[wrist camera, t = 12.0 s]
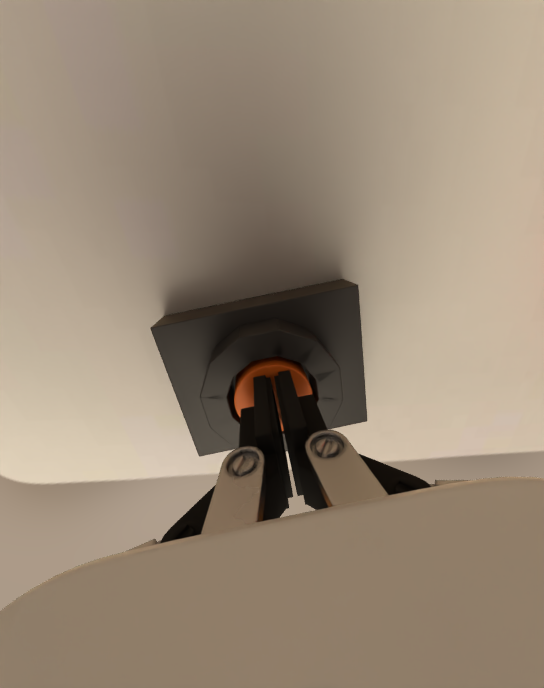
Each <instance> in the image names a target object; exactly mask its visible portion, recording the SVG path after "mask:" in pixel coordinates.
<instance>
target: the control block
mask: <svg viewBox="0 0 544 688" xmlns="http://www.w3.org/2000/svg"><path fill="white" fill-rule="evenodd" d="M151 331H152V334H153V336H154V339H155V342H156V344H157V347H158V350H159V352H160V355H161V357H162V360H163V363H164V365H165V368H166V371H167V373H168V376H169V378H170V381H171V384H172V386H173V389H174V392H175V394H176V397H177V399H178V402H179V405H180V407H181V410H182V413H183V415H184V418H185V420H186V423H187V426H188V428H189V431H190V434H191V436H192V439H193V441H194V444H195V447H196V449H197V452H198V455H199V456H204V455H209V454H213V453H218V452H223V451H228V450H232V449H237V448H239V432H240V417H239V415H238V414H237V411H236V409H235V405H234V395H235V384H236V376H237V374H238V373H239V372H240V371H241V370H243V369H244V368H245V367H246V366H247V365H249V364H250V363H251V362H252V361H256V360H261V359H266V358H271V357H276V356H279V357H282V358H286V359H289V360H293V361H296V362H299V363H300V364H301V366H302V367H303V369H304V372H305V374H306V376H307V379H308V381H309V383H310V386H311V389H312V394H313V396H314V398H315V400H316V403H317V405H318V407H319V410H320V412H321V415H322V417H323V420H324V422H325V424H326V427H327V429H332V428H337V427H342V426H346V425H351V424H356V423H361V422H365V421H367V409H366V394H365V379H364V365H363V350H362V335H361V320H360V305H359V290H358V285H356V284H354V283H351V282H349V281H346V280H344V279H340V280H336V281H331V282H326V283H321V284H316V285H311V286H307V287H302V288H297V289H292V290H287V291H282V292H277V293H273V294H268V295H263V296H258V297H253V298H248V299H244V300H239V301H234V302H229V303H224V304H219V305H214V306H210V307H205V308H200V309H195V310H190V311H185V312H181V313H176V314H171V315H166V316H164V317H162V318H161V319H160V320H159V321H158V322H157V323H156V324H155V325H153V326H152V327H151ZM282 434H283V440H284V446H285V451H288V449H287V444H286V439H285V435H284V431H282Z"/></svg>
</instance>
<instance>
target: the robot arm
mask: <svg viewBox="0 0 544 688" xmlns="http://www.w3.org/2000/svg"><path fill="white" fill-rule="evenodd" d="M274 379H275V385H276V390H277V396H278V402H279V407H280V413H281V419H282V424H283V430H284V435H285V439H286V444H287V449H288V453H289V458H290V463H291V467H292V472H293V477H294V481H295V486H296V490H297V494H298V496H300V495H304V500H305V504H307V505H309V506H311V507H312V508H314V509H316V510H315V511H310V512H305V513H300V514H296V515H290V516H286V517H281V518H280V516H281V515H282V513H283V512H284V511H285V509H287V508H289V504H288V498H290V497H293V494H292V488H291V481H290V476H289V470H288V464H287V458H286V452H285V446H284V440H283V434H282V429H281V424H280V419H279V414H278V410H277V405H276V401H275V396H274V392H273V387H272V382H271V378H270V377H268V378H266V376H265V375H262V376H258V377H253V384H254V406H252V407H247V408H242V409H241V414H240V432H239V448H237V449H235V450H233V451H232V452H231V453H229V454H228V455H227V457H226V458H225V459H224V461H223V463H222V466H221V469H220V473H219V476H218V479H217V483H216V485H215V486H214V487H213V488H212V489H211V490H210V491H209V492H208V493H207V494H206V495H205V496H203V497H202V498H201V499H200V500H199V501H198V502H197V503H196V504H195V505H194V506H193V507H192V508H191V509H190V510H189V511H188V512H187V513H186V514H185V515H184V516H183V517H182V518H181V519H180V520H178V521H177V522H176V523H175V524H174V525H173V526H172V527H171V528H170V529H169V530H168V532H167V533H166V534H165V535H164V537H163V538H162V540H161V541H158V542H157V541H156V539H153V540H151V541H148V542H146V543H144V544H141V545H139V546H137V547H134V548H132V549H130V550H128V551H125V552H122V553H118V554H114V555H111V556H107V557H103V558H99V559H97V560H94V561H91V562H88V563H85V564H82V565H79V566H77V567H74V568H72V569H70V570H68V571H65V572H63V573H61V574H59V575H56V576H54V577H52V578H51V579H48V580H47V581H45V582H43V583H42V584H40V585H38V586H36V587H34V588H32V589H31V590H29V591H28V592H26V593H25V594H23V595H22V596H20V597H18V598H17V599H16V600H14V601H13V602H12V603H10V604H9V605H7V606H6V607H5V608H4V609H2V610H1V611H0V688H544V478H536V477H496V478H483V479H477V480H435V484H428V483H427V482H425V481H424V480H422V479H420V478H418V477H416V476H413V475H411V474H408V473H406V472H403V471H401V470H398V469H396V468H393V467H390V466H388V465H386V464H383V463H381V462H378V461H376V460H373V459H371V458H368V457H366V456H363V455H361V454H358V453H357V452H356V450H355V449H354V447H353V446H352V445H351V443H350V442H349V441H348V439H347V438H346V437H345V436H344V435H343V434H341V433H339V432H337V431H334V430H328V429H327V427H326V424H325V422H324V420H323V417H322V415H321V412H320V410H319V407H318V405H317V403H316V400H315V398H314V396H313V394H310V395H305V396H300V397H298V396H297V393H296V389H295V386H294V383H293V380H292V376H291V373H290V370H287V371H282V372H278V376H274Z"/></svg>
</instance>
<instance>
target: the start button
mask: <svg viewBox="0 0 544 688" xmlns="http://www.w3.org/2000/svg"><path fill="white" fill-rule="evenodd" d="M287 370H290V373H291V376H292V380H293V383H294V386H295V389H296V393H297V396H298V397H300V396H305V395H310V394H312V389H311V386H310V383H309V381H308V379H307V376H306V374H305V372H304V369H303V367H302V366H301V364H300V363H299V362H296V361H293V360H289V359H286V358H282V357H279V356H276V357H271V358H266V359H261V360H256V361H252V362H251V363H250V364H249V365H247V366H246V367H245V368H244V369H243V370H241V371H240V372H239V373H238V374H237V376H236V384H235V395H234V405H235V409H236V411H237V414H238V415H239V417H240V414H241V409H242V408H247V407H252V406H254V384H253V377H258V376H262V375H265V376H266V378H268V377H270V378H271V382H272V387H273V392H274V396H275V401H276V405H277V410H278V414H279V419H280V424H281V429H282V431H284V430H283V424H282V419H281V413H280V407H279V402H278V396H277V390H276V385H275V379H274V376H278V372H282V371H287Z"/></svg>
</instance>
